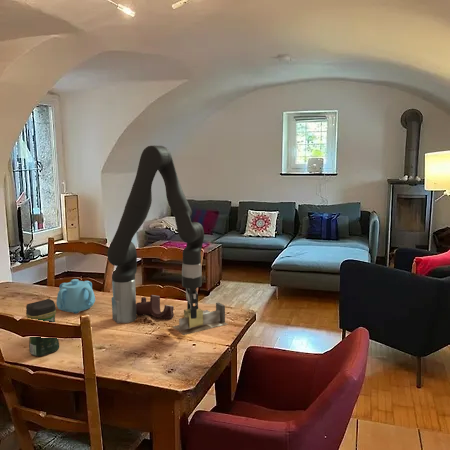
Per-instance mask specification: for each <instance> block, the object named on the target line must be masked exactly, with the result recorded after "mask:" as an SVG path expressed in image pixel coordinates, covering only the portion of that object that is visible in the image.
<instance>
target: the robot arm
mask: <svg viewBox="0 0 450 450" xmlns="http://www.w3.org/2000/svg"><path fill="white" fill-rule="evenodd" d="M176 170H177V169H176V167H175V163H174V159H173V156H172V154H171V151H170V150H169V149H168V147H165V146H163V145H148V146H146V147H145V148H144V149H143V150H142V153H140V158H139V162H138V167H137V171H136V175H135V178H134V181H133V183H132V187H131V189H130V193H129V196H128V198H127V200H126V203H125V206H124V209H123V212H122V214H121V215H122V216H121V218H120V221H119V223H118V227H117V229H116V232H115V234H114V236H113V238H112V239H111V242H110V244H109V247H108V249H107V251H106V252H107V253H106V254H107V261H108V263H110V264H111V265H112V266H116V268H115V270H114V271H113V272H112V273H111V278H112V279H111V280H112V283H111V285H112V297H111V313H112V320H113V321H114V322H115V323H116V324H128V323H132V322H134V321H136V320H137V316H138V315H137V313H136V303H137V295H136V291H137V290H136V274H137V269H138V267H137V266H138V265H137V264H138V262H137V261H138V253H137V248H136V246H135V244H134V243H133V242H132V240H133V239H134V237H135V234H137V232H138V231H139V229H140V228H141V227H142V226H143V225H144V222H145V221H146V219H147V217H148V215H149V212H150V209H151V207H152V202H153V198H152V197H153V196H152V195H153V194H152V185H153V181H154V179H155V176H156V175H157V172H159V174H160V175H161V177H162V179H163V182H164V185H165V186H164V187H165V195H166V200H167V204H168V206H169V208H170V210H171V213H172V215H173V217H174V219H175V220H174V221H175V226H176V230H177V234H178V236H179V239H181V240H182V242H184V243H186V246H185V247H184V248H183V250H182V266H181V267H182V268H181V285H182V287H183V288H185V298H186V302H187V306H186V307H187V308H186V309H191V319H195V318H197V309H198V308H199V294H198V290H197V289H198V288H200V287H202V284H203V282H202V279H203V277H202V271H203V270H202V269H203V268H202V250H203V243H204V238H205V231H204V227H203V225H202V224H201V223H200V222H196V221H193V222H192V220H191V216H192V214H193V210H192V208H191V206H190V203H189V201H188V199H187V198H186V195H185V193H184V190H183V188H182V185H181V183H180V179H179V177H178V173H177V171H176Z"/></svg>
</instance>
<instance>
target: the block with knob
mask: <svg viewBox="0 0 450 450" xmlns="http://www.w3.org/2000/svg"><path fill="white" fill-rule="evenodd" d="M203 311H204V310H203V309H202V308H200V307H198V309H197V318H195V319H191V309H187V308H186V309H183V318H184V317H187V318H188V327H189V328H191V327H196V326H200V325H203Z"/></svg>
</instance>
